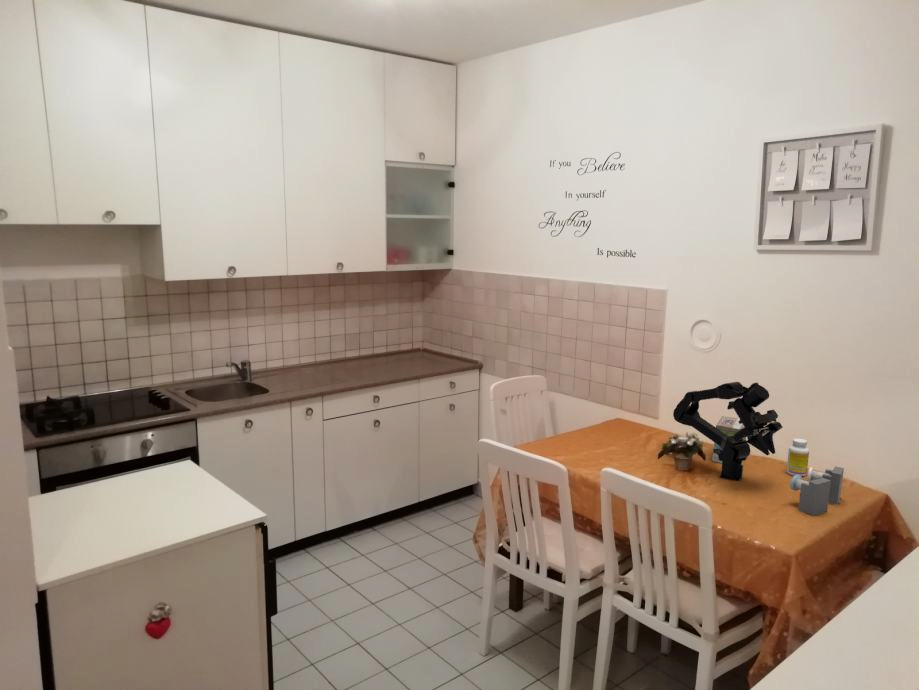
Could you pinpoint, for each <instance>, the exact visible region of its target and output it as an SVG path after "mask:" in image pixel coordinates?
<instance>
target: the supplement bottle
mask: <svg viewBox="0 0 919 690" xmlns="http://www.w3.org/2000/svg"><path fill="white" fill-rule="evenodd" d="M807 445H808V441H807V440H806V439H804V438H799V437H798V438H792V444H791V445H790V446H788V452H787V461H786V463H787V464H786V473H787V474H789V475H790V476H792V477H793V476H795V475H799V476H801V477H802V476H803V477H806V476H807V475H808V467H809V465H808V464H809V454H810V449H809V448H808V447H807ZM803 477H802V478H803Z"/></svg>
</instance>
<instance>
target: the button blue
mask: <svg viewBox="0 0 919 690" xmlns="http://www.w3.org/2000/svg"><path fill="white" fill-rule="evenodd" d="M801 483H807V484H809V482H807V481H806V480H803V477H801V476H799V475H795V476H793V475H792V477H791V479H790V482H789V488H790V489H791V490H793V491H795V492H796V491H799V490H800V491H801Z"/></svg>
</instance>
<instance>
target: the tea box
mask: <svg viewBox="0 0 919 690" xmlns="http://www.w3.org/2000/svg"><path fill="white" fill-rule="evenodd" d="M738 421H740V419H739V417H738V418H737V417H736V418H735V417H731V416H725V415H722V416H721V417H720V419H719V420H718V421H717V423H716V425H715V427H716V428H717V429H719V430H720V431H722V432H723V433H725V434H726V435H728V436H729V437H730V436H734V434H735V433H737V432H738V431H739V430H741V429H742V428H745V427H744V425H743V424H739V422H738ZM743 439H744V440H746V441H747V437H744V438H743ZM721 452H722V450H721V447H720V446H719V445H717V444H716V443H715V442H714V443H713V451H712V457H711V458H712V462H715V463H716V462H717V463H719V464H722V461H720V460H719V457H718V454H719V453H721Z"/></svg>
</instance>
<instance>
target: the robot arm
mask: <svg viewBox="0 0 919 690" xmlns="http://www.w3.org/2000/svg"><path fill="white" fill-rule="evenodd" d="M769 398H770V393H769V391H768V389H767V388H765V387H764V386H762V385H760V384H759V383H758V382H753V383H752V384H750V386H749V387H746V386H744V385H743V384H742V383H741V382H740V381H734V382H733V381H732V382H725V383H722V384H720V385H718V386H716V387H714V388H709V389H704V390H692V391H688V392H686V393H685V394H684V396H683V398H682V399H681V400H680V401H679V402H678V403H677V405H676V407H675V408H674V410H673V412H672V413H673V416H672V417H673V419H674V421H676V422H677V423H679V424H682V425H685V426H689V427H692V428H693V429H695V430H696V431H697V432H699V433H700V434H702V435H703V436H705V437H706V438H707V439H709V440H710V441H711V442H715V443H716V444H717V445H719V446H720V447H721V450H722V452H721V453H719V454H718V457H719V460H720V461H722V463H721V471H720V472H721V473H720V475H719V478H722V479H726V480H733V481H736V482H737V481H738V482H739V481H740V480H741V479H742V478H743V475H744V465H743V462H745V461H747V459H748V457H749V456H750V455H751V446H752V447H754V448H755V449H757V450H758V451H760V452H761V453H763V454H764V455H766V456H769V455H770V454H772V455H774V454H776V449H775V444H774V438H773V436H774V434H775V433H777V432H778V431H780V430H782V429H783V428H784V427H783V425H782V424H781V422H780V421H777V419H778V417H779V415H778V413H777V411H776V410H775V409H770V410H767V411H766V413H764V414H761V412H759V411H756V410H755V409H754V408H757V407H759V406H760V405H761V404H763V403H764V402H765V401H767V400H768V399H769ZM710 399H711V400H712V399H719V400H732V401H728V405H727V411H728V410H733V411H734V412H735V414H736V415H737V417H738V419H740V421H738V422H739V424H743V425H744V427H745V428H742V429H741V430H739V431H738V432H737V433H735V434H734V436H730V437H729V436H728V435H726V434H725V433H723V432H722V431H720V430H719V429H717V428H716V426H714V425H713V424H712V423H711V422H708V421H707V420H705V419H704V418H703V417H701V414H700V412H699V408H700V401H704V400H710ZM733 399H735V400H733ZM744 437H746V440H744V439H743V438H744Z"/></svg>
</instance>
